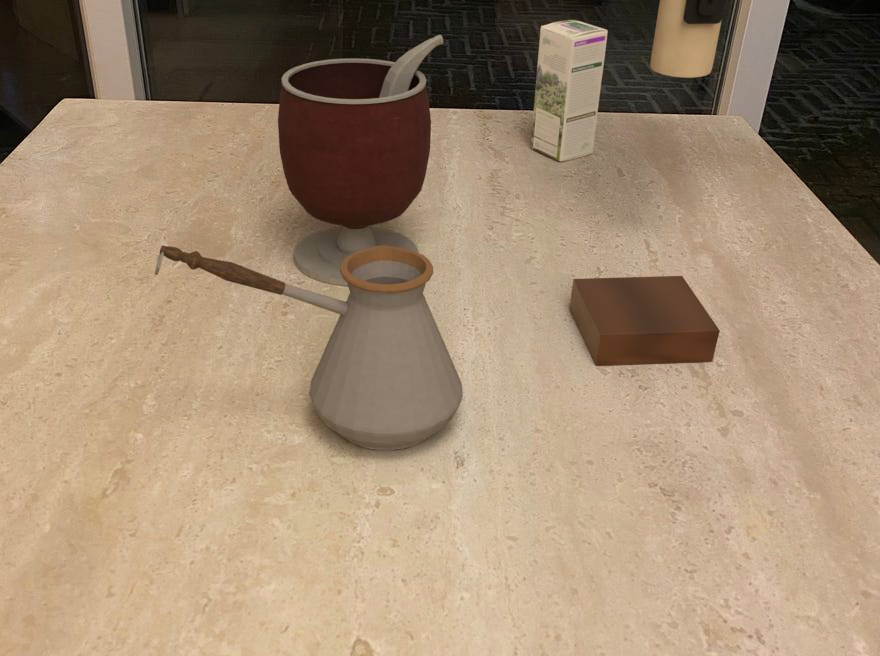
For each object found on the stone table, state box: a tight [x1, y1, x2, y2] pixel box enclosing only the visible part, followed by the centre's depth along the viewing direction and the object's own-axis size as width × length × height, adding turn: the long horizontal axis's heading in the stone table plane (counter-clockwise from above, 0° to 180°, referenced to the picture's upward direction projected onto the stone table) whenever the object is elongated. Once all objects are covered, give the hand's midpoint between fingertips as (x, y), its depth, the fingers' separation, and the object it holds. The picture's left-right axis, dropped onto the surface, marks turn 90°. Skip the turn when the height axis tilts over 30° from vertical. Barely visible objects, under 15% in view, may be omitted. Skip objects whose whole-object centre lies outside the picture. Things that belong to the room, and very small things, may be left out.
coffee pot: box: [154, 245, 464, 451], centre depth 71 cm, size 21×12×15 cm, turn 97°
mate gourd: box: [277, 34, 444, 287], centre depth 93 cm, size 16×14×20 cm
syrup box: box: [530, 19, 609, 162], centre depth 119 cm, size 6×6×14 cm
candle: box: [649, 0, 723, 78], centre depth 88 cm, size 6×6×10 cm
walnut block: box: [568, 275, 720, 367], centre depth 87 cm, size 10×10×3 cm
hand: (691, 11), depth 88 cm, fingers closed on candle, 5 cm apart
